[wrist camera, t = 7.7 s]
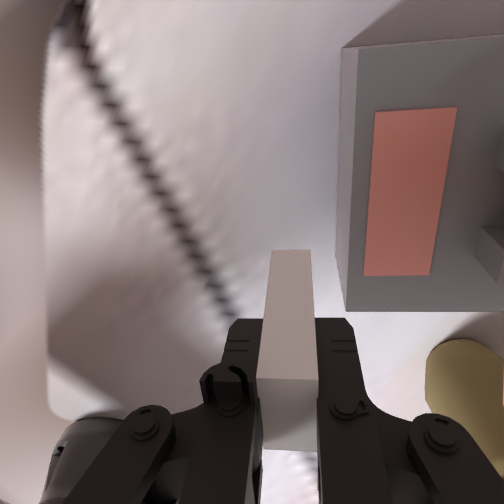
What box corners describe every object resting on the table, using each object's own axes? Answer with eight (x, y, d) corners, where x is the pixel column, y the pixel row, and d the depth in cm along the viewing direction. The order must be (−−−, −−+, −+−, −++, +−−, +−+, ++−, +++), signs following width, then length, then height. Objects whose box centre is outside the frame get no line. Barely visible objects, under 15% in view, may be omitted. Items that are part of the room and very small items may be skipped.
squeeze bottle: (494, 317, 34) (660, 546, 19) (508, 378, 38) (661, 617, 22) (404, 341, 37) (484, 562, 21) (424, 396, 40) (508, 624, 24)
